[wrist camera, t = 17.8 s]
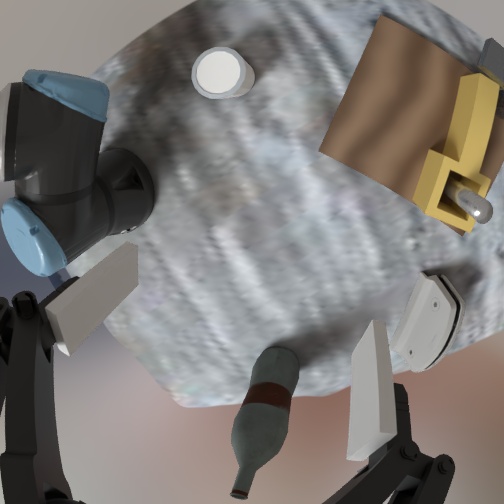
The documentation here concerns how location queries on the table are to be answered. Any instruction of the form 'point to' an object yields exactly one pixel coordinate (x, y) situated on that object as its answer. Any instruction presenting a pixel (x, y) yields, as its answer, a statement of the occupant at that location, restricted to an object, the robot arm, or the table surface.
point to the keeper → (494, 69)
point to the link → (460, 151)
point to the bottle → (263, 415)
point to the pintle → (468, 200)
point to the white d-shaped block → (428, 323)
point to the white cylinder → (222, 74)
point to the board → (402, 112)
